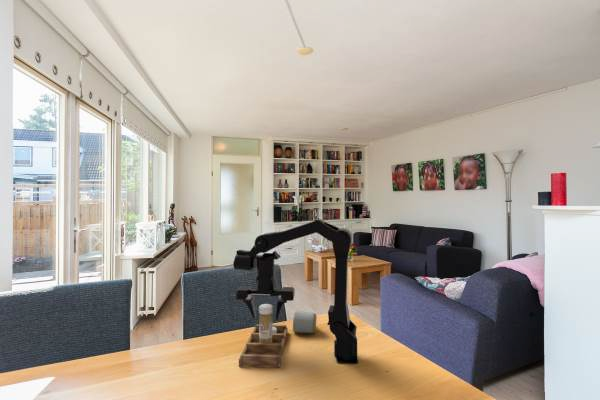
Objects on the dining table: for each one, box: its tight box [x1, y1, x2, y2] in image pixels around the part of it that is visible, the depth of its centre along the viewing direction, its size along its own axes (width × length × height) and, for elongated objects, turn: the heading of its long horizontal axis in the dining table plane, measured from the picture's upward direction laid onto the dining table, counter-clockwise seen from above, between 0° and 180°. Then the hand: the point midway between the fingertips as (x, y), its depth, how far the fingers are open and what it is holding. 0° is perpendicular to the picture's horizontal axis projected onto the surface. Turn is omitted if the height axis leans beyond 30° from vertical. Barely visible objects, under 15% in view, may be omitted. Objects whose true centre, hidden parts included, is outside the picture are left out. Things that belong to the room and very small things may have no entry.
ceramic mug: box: [292, 309, 317, 334], centre depth 112 cm, size 11×8×8 cm
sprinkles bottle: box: [258, 303, 274, 344], centre depth 98 cm, size 5×5×14 cm
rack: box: [238, 323, 289, 369], centre depth 99 cm, size 12×23×3 cm, turn 176°
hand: (265, 319), depth 99 cm, fingers open, 7 cm apart
